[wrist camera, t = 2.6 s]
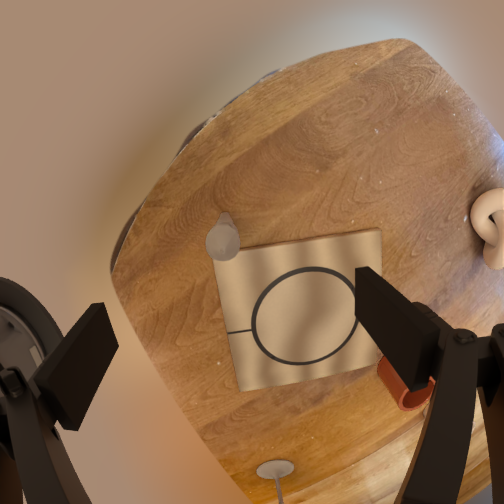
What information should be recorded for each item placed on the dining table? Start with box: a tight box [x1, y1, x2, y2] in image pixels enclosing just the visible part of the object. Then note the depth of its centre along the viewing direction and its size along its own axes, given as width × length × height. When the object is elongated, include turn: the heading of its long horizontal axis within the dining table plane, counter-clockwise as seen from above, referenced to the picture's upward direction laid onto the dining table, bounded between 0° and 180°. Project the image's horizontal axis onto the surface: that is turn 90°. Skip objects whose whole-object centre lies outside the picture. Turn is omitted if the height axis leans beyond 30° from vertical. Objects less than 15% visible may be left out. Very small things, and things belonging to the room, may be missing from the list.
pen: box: [205, 212, 240, 261], centre depth 27 cm, size 2×3×14 cm
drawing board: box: [212, 228, 382, 392], centre depth 37 cm, size 20×20×1 cm
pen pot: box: [377, 356, 435, 411], centre depth 38 cm, size 6×6×8 cm
